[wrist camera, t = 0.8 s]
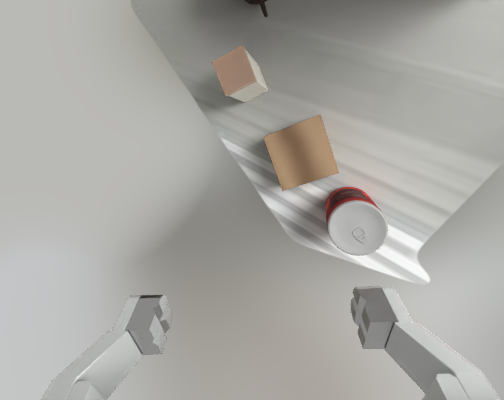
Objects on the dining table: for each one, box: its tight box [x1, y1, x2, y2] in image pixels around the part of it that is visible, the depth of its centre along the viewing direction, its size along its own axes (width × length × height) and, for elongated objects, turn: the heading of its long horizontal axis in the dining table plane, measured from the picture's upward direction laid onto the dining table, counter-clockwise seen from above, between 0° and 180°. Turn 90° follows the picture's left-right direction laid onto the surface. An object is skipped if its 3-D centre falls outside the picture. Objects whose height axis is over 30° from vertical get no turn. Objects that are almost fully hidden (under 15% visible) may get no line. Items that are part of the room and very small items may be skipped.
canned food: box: [326, 187, 388, 256], centre depth 41 cm, size 8×8×11 cm
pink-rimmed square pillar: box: [212, 45, 268, 102], centre depth 40 cm, size 5×5×10 cm
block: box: [263, 115, 339, 191], centre depth 43 cm, size 9×9×6 cm
